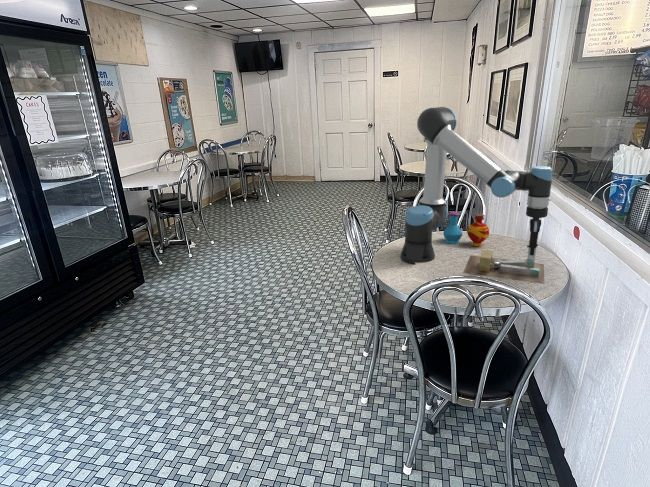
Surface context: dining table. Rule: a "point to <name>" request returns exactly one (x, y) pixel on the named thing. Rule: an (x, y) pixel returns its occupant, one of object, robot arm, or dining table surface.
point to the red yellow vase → (478, 231)
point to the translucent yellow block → (485, 260)
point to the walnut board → (473, 269)
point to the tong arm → (515, 263)
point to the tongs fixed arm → (515, 269)
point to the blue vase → (453, 229)
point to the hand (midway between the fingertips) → (530, 261)
